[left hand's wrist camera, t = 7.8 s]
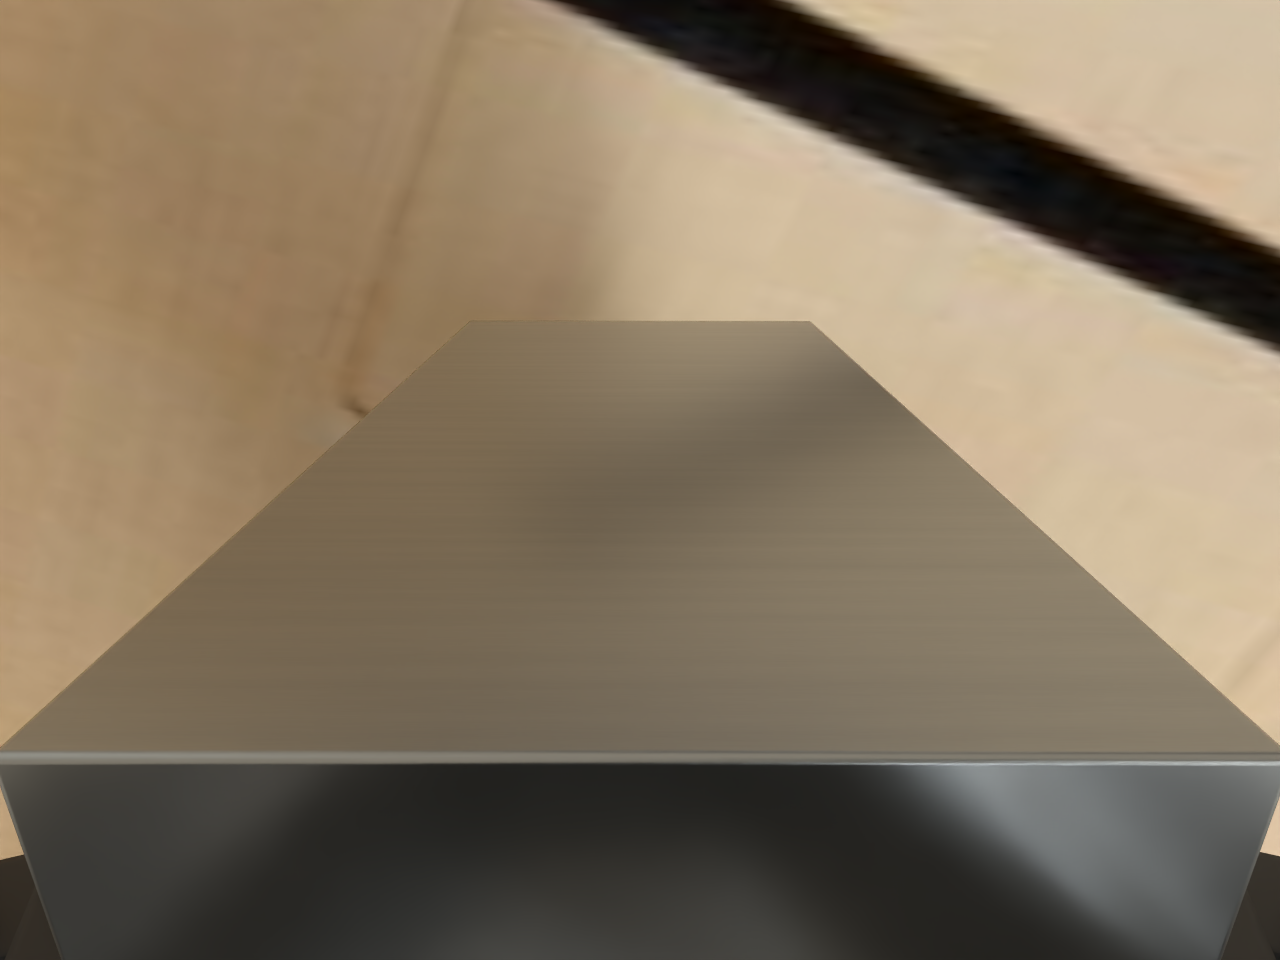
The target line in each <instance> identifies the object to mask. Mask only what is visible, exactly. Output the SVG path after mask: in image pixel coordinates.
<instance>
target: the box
mask: <svg viewBox="0 0 1280 960" xmlns="http://www.w3.org/2000/svg"><path fill="white" fill-rule="evenodd" d="M0 787H1V790H2V793H3V796H4V799H5V801H6V804H7V807H8V810H9V813H10V816H11V818H12V821H13V824H14V827H15V830H16V833H17V835H18V838H19V841H20V844H21V847H22V849H23V852H24V855H25V858H26V861H27V864H28V866H29V869H30V872H31V875H32V878H33V881H34V883H35V886H36V889H37V892H38V895H39V898H40V900H41V903H42V906H43V909H44V912H45V915H46V917H47V920H48V923H49V926H50V929H51V931H52V934H53V937H54V940H55V943H56V946H57V948H58V951H59V954H60V957H61V960H1221V958H1222V956H1223V953H1224V950H1225V947H1226V944H1227V942H1228V939H1229V936H1230V933H1231V931H1232V928H1233V925H1234V922H1235V919H1236V917H1237V914H1238V911H1239V908H1240V905H1241V903H1242V900H1243V897H1244V894H1245V891H1246V889H1247V886H1248V883H1249V880H1250V878H1251V875H1252V872H1253V869H1254V866H1255V864H1256V861H1257V858H1258V855H1259V852H1260V850H1261V847H1262V844H1263V841H1264V839H1265V836H1266V833H1267V830H1268V827H1269V825H1270V822H1271V819H1272V816H1273V813H1274V811H1275V808H1276V805H1277V802H1278V799H1279V797H1280V745H1278V744H1277V743H1276V742H1275V741H1274V740H1273V739H1272V738H1271V737H1270V736H1268V735H1267V734H1266V733H1265V732H1264V731H1263V730H1262V729H1261V728H1260V727H1259V726H1257V725H1256V724H1255V723H1254V722H1253V721H1252V720H1251V719H1250V718H1249V717H1247V716H1246V715H1245V714H1244V713H1243V712H1242V711H1241V710H1240V709H1239V708H1238V707H1236V706H1235V705H1234V704H1233V703H1232V702H1231V701H1230V700H1229V699H1228V698H1226V697H1225V696H1224V695H1223V694H1222V693H1221V692H1220V691H1219V690H1218V689H1216V688H1215V687H1214V686H1213V685H1212V684H1211V683H1210V682H1209V681H1208V680H1207V679H1205V678H1204V677H1203V676H1202V675H1201V674H1200V673H1199V672H1198V671H1197V670H1195V669H1194V668H1193V667H1192V666H1191V665H1190V664H1189V663H1188V662H1187V661H1186V660H1184V659H1183V658H1182V657H1181V656H1180V655H1179V654H1178V653H1177V652H1176V651H1174V650H1173V649H1172V648H1171V647H1170V646H1169V645H1168V644H1167V643H1166V642H1165V641H1163V640H1162V639H1161V638H1160V637H1159V636H1158V635H1157V634H1156V633H1155V632H1153V631H1152V630H1151V629H1150V628H1149V627H1148V626H1147V625H1146V624H1145V623H1143V622H1142V621H1141V620H1140V619H1139V618H1138V617H1137V616H1136V615H1135V614H1134V613H1132V612H1131V611H1130V610H1129V609H1128V608H1127V607H1126V606H1125V605H1124V604H1122V603H1121V602H1120V601H1119V600H1118V599H1117V598H1116V597H1115V596H1114V595H1113V594H1111V593H1110V592H1109V591H1108V590H1107V589H1106V588H1105V587H1104V586H1103V585H1101V584H1100V583H1099V582H1098V581H1097V580H1096V579H1095V578H1094V577H1093V576H1091V575H1090V574H1089V573H1088V572H1087V571H1086V570H1085V569H1084V568H1083V567H1082V566H1080V565H1079V564H1078V563H1077V562H1076V561H1075V560H1074V559H1073V558H1072V557H1070V556H1069V555H1068V554H1067V553H1066V552H1065V551H1064V550H1063V549H1062V548H1061V547H1059V546H1058V545H1057V544H1056V543H1055V542H1054V541H1053V540H1052V539H1051V538H1049V537H1048V536H1047V535H1046V534H1045V533H1044V532H1043V531H1042V530H1041V529H1040V528H1038V527H1037V526H1036V525H1035V524H1034V523H1033V522H1032V521H1031V520H1030V519H1028V518H1027V517H1026V516H1025V515H1024V514H1023V513H1022V512H1021V511H1020V510H1018V509H1017V508H1016V507H1015V506H1014V505H1013V504H1012V503H1011V502H1010V501H1009V500H1007V499H1006V498H1005V497H1004V496H1003V495H1002V494H1001V493H1000V492H999V491H997V490H996V489H995V488H994V487H993V486H992V485H991V484H990V483H989V482H988V481H986V480H985V479H984V478H983V477H982V476H981V475H980V474H979V473H978V472H976V471H975V470H974V469H973V468H972V467H971V466H970V465H969V464H968V463H966V462H965V461H964V460H963V459H962V458H961V457H960V456H959V455H958V454H957V453H955V452H954V451H953V450H952V449H951V448H950V447H949V446H948V445H947V444H945V443H944V442H943V441H942V440H941V439H940V438H939V437H938V436H937V435H936V434H934V433H933V432H932V431H931V430H930V429H929V428H928V427H927V426H926V425H924V424H923V423H922V422H921V421H920V420H919V419H918V418H917V417H916V416H915V415H913V414H912V413H911V412H910V411H909V410H908V409H907V408H906V407H905V406H903V405H902V404H901V403H900V402H899V401H898V400H897V399H896V398H895V397H893V396H892V395H891V394H890V393H889V392H888V391H887V390H886V389H885V388H884V387H882V386H881V385H880V384H879V383H878V382H877V381H876V380H875V379H874V378H872V377H871V376H870V375H869V374H868V373H867V372H866V371H865V370H864V369H863V368H861V367H860V366H859V365H858V364H857V363H856V362H855V361H854V360H853V359H851V358H850V357H849V356H848V355H847V354H846V353H845V352H844V351H843V350H841V349H840V348H839V347H838V346H837V345H836V344H835V343H834V342H833V341H832V340H830V339H829V338H828V337H827V336H826V335H825V334H824V333H823V332H822V331H820V330H819V329H818V328H817V327H816V326H815V325H814V324H813V323H812V322H810V321H470V322H469V323H468V324H466V325H465V326H464V327H463V328H462V329H461V330H460V331H459V332H458V333H456V334H455V335H454V336H453V337H452V338H451V339H450V340H449V341H448V342H447V343H445V344H444V345H443V346H442V347H441V348H440V349H439V350H438V351H437V352H436V353H434V354H433V355H432V356H431V357H430V358H429V359H428V360H427V361H426V362H425V363H423V364H422V365H421V366H420V367H419V368H418V369H417V370H416V371H415V372H414V373H412V374H411V375H410V376H409V377H408V378H407V379H406V380H405V381H404V382H402V383H401V384H400V385H399V386H398V387H397V388H396V389H395V390H394V391H393V392H391V393H390V394H389V395H388V396H387V397H386V398H385V399H384V400H383V401H382V402H380V403H379V404H378V405H377V406H376V407H375V408H374V409H373V410H372V411H371V412H369V413H368V414H367V415H366V416H365V417H364V418H363V419H362V420H361V421H359V422H358V423H357V424H356V425H355V426H354V427H353V428H352V429H351V430H350V431H348V432H347V433H346V434H345V435H344V436H343V437H342V438H341V439H340V440H339V441H337V442H336V443H335V444H334V445H333V446H332V447H331V448H330V449H329V450H328V451H326V452H325V453H324V454H323V455H322V456H321V457H320V458H319V459H318V460H316V461H315V462H314V463H313V464H312V465H311V466H310V467H309V468H308V469H307V470H305V471H304V472H303V473H302V474H301V475H300V476H299V477H298V478H297V479H296V480H294V481H293V482H292V483H291V484H290V485H289V486H288V487H287V488H286V489H285V490H283V491H282V492H281V493H280V494H279V495H278V496H277V497H276V498H275V499H274V500H272V501H271V502H270V503H269V504H268V505H267V506H266V507H265V508H264V509H262V510H261V511H260V512H259V513H258V514H257V515H256V516H255V517H254V518H253V519H251V520H250V521H249V522H248V523H247V524H246V525H245V526H244V527H243V528H242V529H240V530H239V531H238V532H237V533H236V534H235V535H234V536H233V537H232V538H231V539H229V540H228V541H227V542H226V543H225V544H224V545H223V546H222V547H221V548H219V549H218V550H217V551H216V552H215V553H214V554H213V555H212V556H211V557H210V558H208V559H207V560H206V561H205V562H204V563H203V564H202V565H201V566H200V567H199V568H197V569H196V570H195V571H194V572H193V573H192V574H191V575H190V576H189V577H188V578H186V579H185V580H184V581H183V582H182V583H181V584H180V585H179V586H178V587H176V588H175V589H174V590H173V591H172V592H171V593H170V594H169V595H168V596H167V597H165V598H164V599H163V600H162V601H161V602H160V603H159V604H158V605H157V606H156V607H154V608H153V609H152V610H151V611H150V612H149V613H148V614H147V615H146V616H145V617H143V618H142V619H141V620H140V621H139V622H138V623H137V624H136V625H135V626H134V627H132V628H131V629H130V630H129V631H128V632H127V633H126V634H125V635H124V636H122V637H121V638H120V639H119V640H118V641H117V642H116V643H115V644H114V645H113V646H111V647H110V648H109V649H108V650H107V651H106V652H105V653H104V654H103V655H102V656H100V657H99V658H98V659H97V660H96V661H95V662H94V663H93V664H92V665H91V666H89V667H88V668H87V669H86V670H85V671H84V672H83V673H82V674H81V675H79V676H78V677H77V678H76V679H75V680H74V681H73V682H72V683H71V684H70V685H68V686H67V687H66V688H65V689H64V690H63V691H62V692H61V693H60V694H59V695H57V696H56V697H55V698H54V699H53V700H52V701H51V702H50V703H49V704H48V705H46V706H45V707H44V708H43V709H42V710H41V711H40V712H39V713H38V714H36V715H35V716H34V717H33V718H32V719H31V720H30V721H29V722H28V723H27V724H25V725H24V726H23V727H22V728H21V729H20V730H19V731H18V732H17V733H16V734H14V735H13V736H12V737H11V738H10V739H9V740H8V741H7V742H6V743H5V744H3V745H2V746H1V747H0Z"/></svg>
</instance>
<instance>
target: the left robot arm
mask: <svg viewBox="0 0 1280 960" xmlns="http://www.w3.org/2000/svg"><path fill="white" fill-rule="evenodd" d="M0 960H61V957H60V954H59V951H58V948H57V946H56V943H55V940H54V937H53V934H52V931H51V929H50V926H49V923H48V920H47V917H46V915H45V912H44V909H43V906H42V903H41V900H40V898H39V895H38V892H37V889H36V886H35V883H34V881H33V878H32V875H31V872H30V869H29V866H28V864H27V861H26V858H25V855H20V856H16V857H11V858H7V859H3V860H0ZM1221 960H1280V856H1275V855H1271V854H1267V853H1262V852H1259V855H1258V858H1257V861H1256V864H1255V866H1254V869H1253V872H1252V875H1251V878H1250V880H1249V883H1248V886H1247V889H1246V891H1245V894H1244V897H1243V900H1242V903H1241V905H1240V908H1239V911H1238V914H1237V917H1236V919H1235V922H1234V925H1233V928H1232V931H1231V933H1230V936H1229V939H1228V942H1227V944H1226V947H1225V950H1224V953H1223V956H1222V958H1221Z"/></svg>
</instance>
